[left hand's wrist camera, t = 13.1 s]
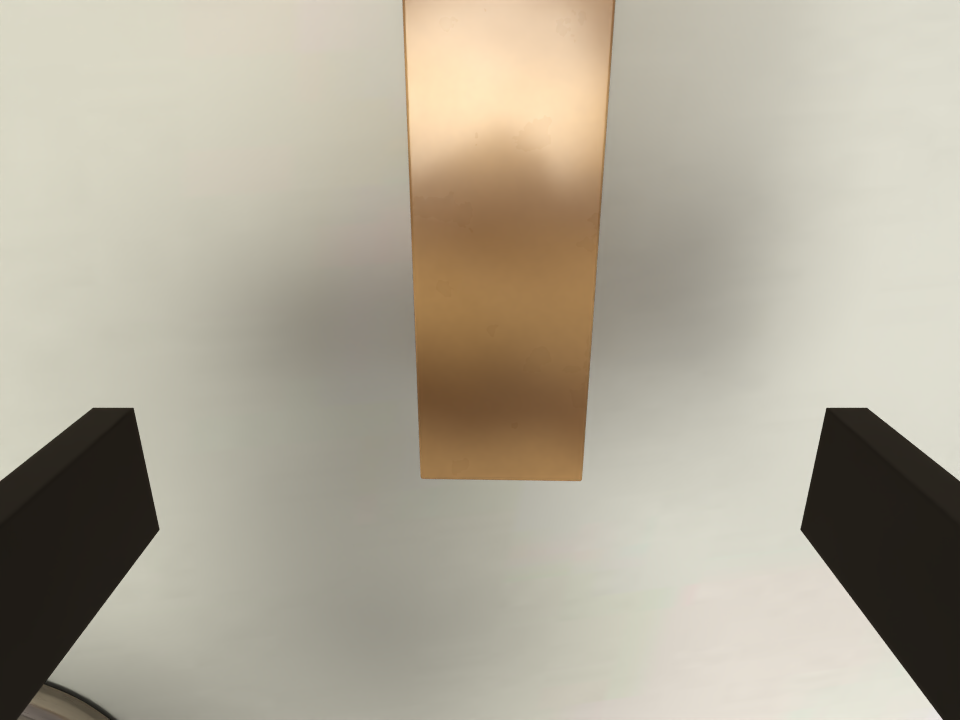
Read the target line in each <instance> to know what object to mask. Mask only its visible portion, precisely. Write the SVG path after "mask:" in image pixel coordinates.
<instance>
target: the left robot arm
mask: <svg viewBox="0 0 960 720" xmlns="http://www.w3.org/2000/svg"><path fill="white" fill-rule="evenodd" d="M158 531H159V525H158V520H157V516H156V511H155V506H154V502H153V497H152V492H151V487H150V483H149V478H148V473H147V469H146V464H145V459H144V455H143V450H142V445H141V441H140V436H139V431H138V427H137V422H136V417H135V413H134V408H92V409H91V410H90V411H89V412H87V413H86V414H85V415H83V416H82V417H81V418H80V419H78V420H77V421H76V422H75V423H73V424H72V425H71V426H70V427H68V428H67V429H66V430H64V431H63V432H62V433H61V434H59V435H58V436H57V437H56V438H54V439H53V440H52V441H51V442H49V443H48V444H47V445H45V446H44V447H43V448H42V449H40V450H39V451H38V452H37V453H35V454H34V455H33V456H32V457H30V458H29V459H28V460H27V461H25V462H24V463H23V464H21V465H20V466H19V467H18V468H16V469H15V470H14V471H13V472H11V473H10V474H9V475H8V476H6V477H5V478H4V479H2V480H1V481H0V720H109V719H108V718H107V717H106V716H104V715H103V714H102V713H100V712H99V711H97V710H96V709H94V708H93V707H91V706H90V705H88V704H86V703H85V702H83V701H81V700H79V699H77V698H75V697H73V696H71V695H69V694H67V693H65V692H63V691H60V690H58V689H55V688H53V687H50V686H47V685H44V683H45V682H46V680H47V679H48V678H49V676H50V675H51V674H52V672H53V671H54V670H55V668H56V667H57V666H58V664H59V663H60V662H61V660H62V659H63V658H64V656H65V655H66V654H67V652H68V651H69V650H70V648H71V647H72V646H73V644H74V643H75V642H76V640H77V639H78V638H79V636H80V635H81V634H82V632H83V631H84V630H85V628H86V627H87V626H88V624H89V623H90V622H91V620H92V619H93V618H94V616H95V615H96V614H97V612H98V611H99V610H100V608H101V607H102V606H103V604H104V603H105V602H106V600H107V599H108V598H109V596H110V595H111V594H112V592H113V591H114V590H115V588H116V587H117V586H118V584H119V583H120V582H121V580H122V579H123V578H124V576H125V575H126V574H127V572H128V571H129V570H130V568H131V567H132V566H133V564H134V563H135V562H136V560H137V559H138V558H139V556H140V555H141V554H142V552H143V551H144V550H145V548H146V547H147V546H148V544H149V543H150V542H151V540H152V539H153V538H154V536H155V535H156V534H157V532H158ZM801 531H802V532H803V534H804V535H805V536H806V538H807V539H808V540H809V542H810V543H811V544H812V546H813V547H814V548H815V550H816V551H817V552H818V554H819V555H820V556H821V558H822V559H823V560H824V562H825V563H826V564H827V566H828V567H829V568H830V570H831V571H832V572H833V574H834V575H835V576H836V578H837V579H838V580H839V582H840V583H841V584H842V586H843V587H844V588H845V590H846V591H847V592H848V594H849V595H850V596H851V598H852V599H853V600H854V602H855V603H856V604H857V606H858V607H859V608H860V610H861V611H862V612H863V614H864V615H865V616H866V618H867V619H868V620H869V622H870V623H871V624H872V626H873V627H874V628H875V630H876V631H877V632H878V634H879V635H880V636H881V638H882V639H883V640H884V642H885V643H886V644H887V646H888V647H889V648H890V650H891V651H892V652H893V654H894V655H895V656H896V658H897V659H898V660H899V662H900V663H901V664H902V666H903V667H904V668H905V670H906V671H907V672H908V674H909V675H910V676H911V678H912V679H913V680H914V682H915V683H916V684H917V686H918V687H919V688H920V690H921V691H922V692H923V694H924V695H925V696H926V698H927V699H928V700H929V702H930V703H931V704H932V706H933V707H934V708H935V710H936V711H937V712H938V714H939V715H940V716H941V718H942V719H943V720H960V481H959V480H958V479H956V478H955V477H954V476H952V475H951V474H950V473H949V472H947V471H946V470H945V469H944V468H942V467H941V466H940V465H939V464H937V463H936V462H935V461H933V460H932V459H931V458H930V457H928V456H927V455H926V454H925V453H923V452H922V451H921V450H920V449H918V448H917V447H916V446H915V445H913V444H912V443H911V442H909V441H908V440H907V439H906V438H904V437H903V436H902V435H901V434H899V433H898V432H897V431H896V430H894V429H893V428H892V427H890V426H889V425H888V424H887V423H885V422H884V421H883V420H882V419H880V418H879V417H878V416H877V415H875V414H874V413H873V412H871V411H870V410H869V409H868V408H826V413H825V417H824V422H823V427H822V431H821V436H820V441H819V445H818V450H817V455H816V459H815V464H814V469H813V473H812V478H811V483H810V487H809V492H808V497H807V502H806V506H805V511H804V516H803V520H802V525H801Z"/></svg>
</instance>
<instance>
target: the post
mask: <svg viewBox="0 0 960 720" xmlns="http://www.w3.org/2000/svg"><path fill="white" fill-rule="evenodd" d="M614 13H615V0H403V26H404V53H405V79H406V105H407V131H408V158H409V184H410V210H411V237H412V263H413V289H414V315H415V342H416V368H417V394H418V421H419V447H420V473H421V478H422V479H476V480H544V481H581V480H582V471H583V457H584V442H585V428H586V414H587V399H588V385H589V371H590V357H591V342H592V328H593V314H594V299H595V285H596V271H597V256H598V242H599V228H600V213H601V199H602V185H603V170H604V156H605V142H606V128H607V113H608V99H609V85H610V70H611V56H612V42H613V27H614Z"/></svg>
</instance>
